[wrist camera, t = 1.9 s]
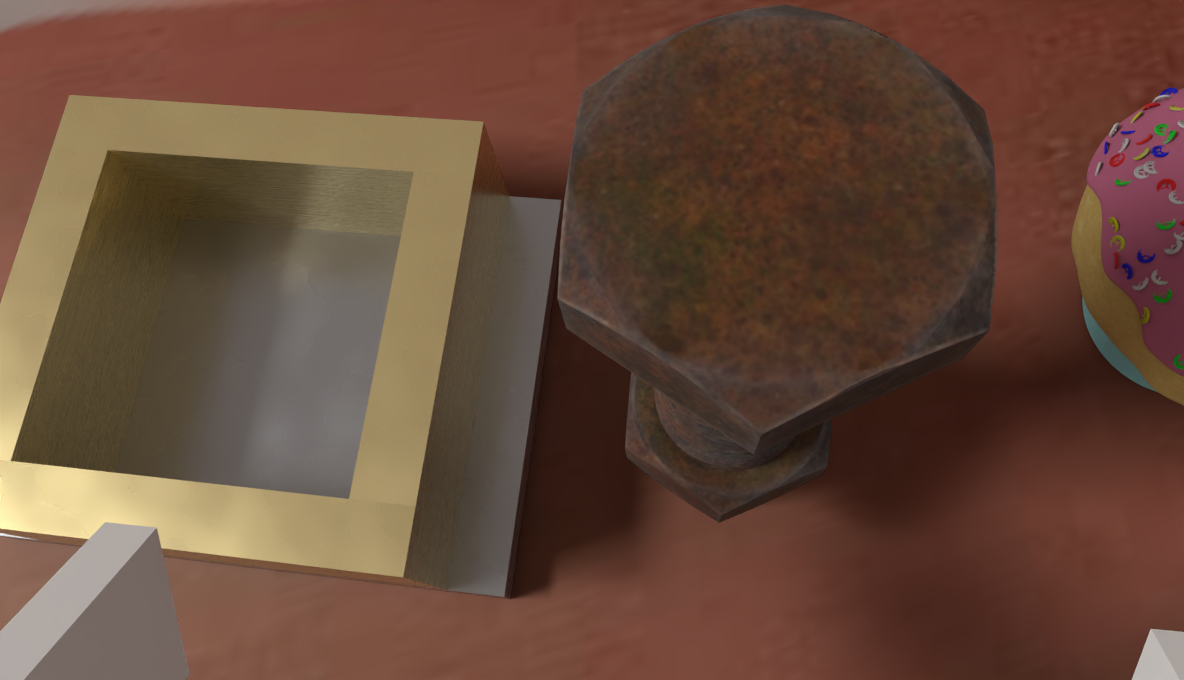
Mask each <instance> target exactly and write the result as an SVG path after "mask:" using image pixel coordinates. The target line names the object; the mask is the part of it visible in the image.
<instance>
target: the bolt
mask: <svg viewBox="0 0 1184 680" xmlns="http://www.w3.org/2000/svg"><path fill="white" fill-rule="evenodd" d="M997 240H998V217H997V198H996V182H995V167H994V155H993V143H992V139H991V135H990V131H989V127H988V123H987V119H986V115H985V111H984V109H983V108H981V107H980V106H979V105H978V104H977V103H976V102H975V101H974V100H973V99H972V98H971V97H969V96H968V95H967V94H966V93H965V92H964V91H963V90H962V89H961V88H960V87H959V86H957V85H956V84H955V83H954V82H953V81H952V80H951V79H950V78H949V77H948V76H947V75H945V74H944V73H943V72H941V71H940V70H938V69H937V68H936V67H934V66H933V65H932V64H930V63H929V62H927V61H926V60H925V59H923V58H922V57H921V56H919V55H918V54H917V53H915V52H914V51H912V50H911V49H909V48H907V47H905V46H903V45H902V44H900V43H898V42H896V41H894V40H892V39H891V38H889V37H887V36H885V35H883V34H881V33H879V32H876V31H874V30H872V29H870V28H868V27H866V26H863V25H861V24H859V23H856V22H853V21H850V20H847V19H844V18H841V17H838V16H835V15H832V14H829V13H825V12H820V11H815V10H810V9H805V8H800V7H795V6H790V5H777V6H769V7H762V8H754V9H746V10H741V11H738V12H734V13H730V14H726V15H722V16H718V17H715V18H711V19H708V20H705V21H703V22H700V23H698V24H696V25H693V26H691V27H688V28H686V29H684V30H682V31H680V32H678V33H675V34H673V35H671V36H669V37H667V38H665V39H663V40H661V41H659V42H657V43H655V44H653V45H651V46H649V47H648V48H646V49H644V50H643V51H641V52H639V53H637V54H636V55H634V56H632V57H630V58H629V59H627V60H625V61H624V62H622V63H621V64H620V65H618V66H617V67H616V68H614V69H613V70H611V71H610V72H609V73H607V74H606V75H604V76H603V77H602V78H600V79H599V80H598V81H596V82H595V83H593V84H592V85H591V86H589V87H588V88H586V89H585V90H584V91H583V95H582V99H581V103H580V107H579V111H578V115H577V119H576V124H575V131H574V138H573V145H572V151H571V158H570V165H569V172H568V179H567V186H566V192H565V199H564V209H563V219H562V230H561V241H560V257H559V276H558V295H557V299H558V303H559V306H560V309H561V313H562V316H563V320H564V323H565V326H566V329H568V330H569V331H571V332H572V333H574V334H575V335H577V336H578V337H580V338H581V339H583V340H584V341H586V342H587V343H588V344H590V345H591V346H593V347H594V348H596V349H597V350H599V351H600V352H602V353H603V354H605V355H606V356H608V357H609V358H611V359H612V360H614V361H615V362H617V363H618V364H620V365H621V366H623V367H624V368H626V369H627V370H629V371H630V372H631V381H630V391H629V402H628V412H627V425H626V441H625V451H626V455H627V458H628V459H629V460H630V461H631V462H633V463H634V464H635V465H637V466H638V467H639V468H640V469H642V470H643V471H644V472H645V473H647V474H648V475H649V476H650V477H652V478H653V479H655V480H656V481H657V482H659V483H660V484H661V485H663V486H664V487H666V488H667V489H668V490H670V491H671V492H672V493H674V494H675V495H677V496H678V497H680V498H681V499H683V500H684V501H686V502H687V503H689V504H690V505H692V506H693V507H695V508H696V509H698V510H700V511H701V512H703V513H704V514H706V515H708V516H709V517H711V518H713V519H714V520H716V521H718V522H721V521H724V520H726V519H729V518H731V517H734V516H736V515H739V514H741V513H743V512H746V511H748V510H750V509H752V508H755V507H757V506H759V505H761V504H764V503H766V502H768V501H770V500H772V499H774V498H776V497H779V496H781V495H783V494H785V493H787V492H789V491H791V490H793V489H795V488H797V487H799V486H801V485H803V484H805V483H807V482H809V481H811V480H812V479H814V478H816V477H818V476H820V475H821V474H822V473H823V471H824V470H825V469H826V468H827V467H828V457H829V447H830V437H831V419H832V418H834V417H836V416H839V415H841V414H843V413H845V412H847V411H850V410H852V409H854V408H856V407H858V406H860V405H863V404H865V403H867V402H869V401H871V400H874V399H876V398H878V397H880V396H882V395H884V394H887V393H889V392H891V391H893V390H895V389H898V388H900V387H902V386H904V385H906V384H908V383H911V382H913V381H915V380H917V379H919V378H922V377H924V376H926V375H928V374H930V373H932V372H935V371H937V370H939V369H941V368H943V367H946V366H948V365H950V364H952V363H954V362H956V361H959V360H961V359H963V358H964V357H965V355H966V354H967V353H968V352H969V351H970V350H971V349H972V348H973V347H974V346H975V345H976V344H977V343H978V342H979V341H980V340H981V339H982V338H983V336H984V335H985V334H986V333H987V332H988V331H989V329H990V320H991V312H992V303H993V294H994V285H995V277H996V261H997Z"/></svg>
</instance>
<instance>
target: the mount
mask: <svg viewBox="0 0 1184 680" xmlns="http://www.w3.org/2000/svg"><path fill="white" fill-rule="evenodd" d="M562 219H563V205H562V201H561V200H554V199H540V198H527V197H513V196H509V193H508V190H507V187H506V185H505V182H504V179H503V176H502V173H501V170H500V167H499V165H498V162H497V159H496V156H495V153H494V150H493V147H492V145H491V142H490V139H489V136H488V133H487V130H486V128H485V125H484V122H478V121H463V120H448V119H432V118H417V117H401V116H386V115H370V114H355V113H339V112H324V111H308V110H293V109H278V108H262V107H247V106H231V105H216V104H200V103H185V102H169V101H154V100H138V99H123V98H108V97H92V96H77V95H69V98H68V101H67V104H66V107H65V110H64V113H63V116H62V119H61V122H60V125H59V128H58V132H57V135H56V138H55V141H54V144H53V147H52V150H51V153H50V156H49V159H48V162H47V165H46V168H45V171H44V174H43V177H42V180H41V183H40V186H39V189H38V192H37V195H36V198H35V201H34V204H33V207H32V210H31V213H30V216H29V219H28V222H27V225H26V228H25V231H24V234H23V237H22V240H21V243H20V246H19V249H18V252H17V255H16V258H15V261H14V264H13V267H12V270H11V273H10V276H9V279H8V282H7V285H6V288H5V291H4V294H3V297H2V300H1V303H0V536H2V537H8V538H14V539H22V540H30V541H38V542H47V543H55V544H63V545H71V546H79V547H82V546H83V545H84V544H85V543H86V542H87V540H88V539H89V538H90V537H91V536H92V535H93V534H94V533H95V532H96V531H97V530H98V529H99V528H100V527H101V526H102V525H103V524H104V523H105V522H108V523H118V524H128V525H137V526H147V527H157V530H158V535H159V539H160V544H161V548H162V553H163V557H169V558H178V559H186V560H194V561H202V562H210V563H219V564H227V565H235V566H243V567H251V568H260V569H268V570H276V571H284V572H292V573H301V574H309V575H317V576H325V577H333V578H342V579H350V580H358V581H366V582H374V583H382V584H391V585H399V586H407V587H415V588H423V589H432V590H440V591H448V592H456V593H464V594H473V595H481V596H489V597H497V598H505V599H511V593H512V586H513V578H514V571H515V564H516V557H517V550H518V543H519V536H520V529H521V522H522V515H523V508H524V501H525V494H526V487H527V480H528V473H529V466H530V458H531V451H532V444H533V437H534V430H535V423H536V416H537V409H538V402H539V395H540V388H541V381H542V374H543V367H544V360H545V353H546V345H547V338H548V331H549V324H550V317H551V310H552V303H553V296H554V289H555V282H556V275H557V268H558V261H559V254H560V241H561V230H562Z"/></svg>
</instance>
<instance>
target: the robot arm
mask: <svg viewBox="0 0 1184 680" xmlns="http://www.w3.org/2000/svg"><path fill="white" fill-rule="evenodd" d="M188 676H189V669H188V665H187V660H186V656H185V652H184V647H183V643H182V638H181V634H180V629H179V625H178V620H177V616H176V611H175V607H174V602H173V598H172V593H171V589H170V584H169V580H168V575H167V571H166V566H165V562H164V557H163V553H162V548H161V544H160V539H159V535H158V530H157V527H147V526H137V525H128V524H118V523H108V522H105V523H104V524H103V525H102V526H101V527H100V528H99V529H98V530H97V531H96V532H95V533H94V534H93V535H92V536H91V537H90V538H89V539H88V540H87V542H86V543H85V544H84V545H83V546H82V547H81V548H80V549H79V550H78V551H77V552H76V553H75V554H74V555H73V556H72V557H71V558H70V559H69V560H68V561H67V562H66V563H65V564H64V565H63V567H62V568H61V569H60V570H59V571H58V572H57V573H56V574H55V575H54V576H53V577H52V578H51V579H50V580H49V581H48V582H47V583H46V584H45V585H44V586H43V587H42V588H41V589H40V590H39V592H38V593H37V594H36V595H35V596H34V597H33V598H32V599H31V600H30V601H29V602H28V603H27V604H26V605H25V606H24V607H23V608H22V609H21V610H20V611H19V612H18V613H17V614H16V615H15V617H14V618H13V619H12V620H11V621H10V622H9V623H8V624H7V625H6V626H5V627H4V628H3V629H2V630H1V631H0V680H186V679H187V677H188ZM1132 680H1184V632H1178V631H1168V630H1159V629H1151V630H1150V632H1149V635H1148V638H1147V640H1146V643H1145V646H1144V648H1143V651H1142V654H1141V656H1140V659H1139V662H1138V664H1137V667H1136V670H1135V672H1134V675H1133V678H1132Z"/></svg>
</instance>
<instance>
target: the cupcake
mask: <svg viewBox="0 0 1184 680" xmlns="http://www.w3.org/2000/svg"><path fill="white" fill-rule="evenodd" d="M1166 92H1169V93H1168V94H1165V93H1166ZM1171 92H1173V93H1171ZM1170 93H1171V94H1170ZM1087 183H1088V184H1087V187H1086V189H1085V191H1084V194H1083V196H1082V199H1081V202H1080V205H1079V208H1078V212H1077V215H1076V219H1075V222H1074V226H1073V230H1072V238H1071V244H1072V252H1073V256H1074V260H1075V263H1076V267H1077V272H1078V278H1079V284H1080V288H1081V292H1082V296H1083V298H1082V305H1083V314H1084V319H1085V322H1086V326H1087V328H1088V331H1089V334H1090V336H1091V338H1092V340H1093V341H1094V343H1095V345H1096V346H1097V348H1098V349H1099V351H1100V352H1101V354H1102V355H1103V356H1104V357H1105V358H1106V359H1107V361H1108V362H1109V363H1110V364H1111V365H1112V366H1113V367H1114V368H1116V369H1117V370H1118V371H1119V372H1120V373H1122V374H1123V375H1124V376H1126V377H1127V378H1129V379H1130V380H1132V381H1134V382H1135V383H1137V384H1139V385H1141V386H1143V387H1145V388H1148V389H1150V390H1153V391H1156V392H1158V393H1160V394H1161V395H1163V396H1165V397H1166V398H1168V399H1171V400H1173V401H1175V402H1177V403H1179V404H1181V405H1183V406H1184V88H1183V89H1180V90H1178V91H1177V89H1176V88H1168V89H1166V90H1164V91H1163V92H1162V93H1161V94H1160V96H1158V97H1156V98H1155V99H1154V100H1153V102H1152V103H1150V104H1148V105H1145V106H1144V107H1143V108H1141V109H1140V110H1138V111H1137V112H1135V113H1134V114H1132V115H1131V116H1129V117H1128V118H1126V119H1125V120H1123V121H1122V122H1121V123H1120V124H1119V123H1116V124H1115V125H1114V126H1113V128H1112V129H1111V131H1110V133H1109V134H1108V135H1107V136H1106V138H1105V139H1104V140H1103V141H1102V143H1101V144H1100V146H1099V147H1098V149H1097V150H1096V152H1095V154H1094V156H1093V158H1092V160H1091V162H1090V164H1089V167H1088V171H1087Z"/></svg>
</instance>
